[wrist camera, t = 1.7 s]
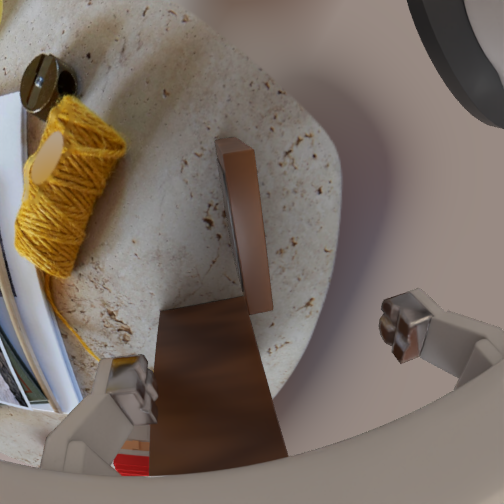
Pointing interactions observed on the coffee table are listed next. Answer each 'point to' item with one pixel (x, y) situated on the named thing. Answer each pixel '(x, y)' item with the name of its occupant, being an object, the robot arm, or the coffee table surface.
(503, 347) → the robot arm
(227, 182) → the photo frame
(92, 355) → the coffee table surface
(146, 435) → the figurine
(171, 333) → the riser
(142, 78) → the coffee table surface
